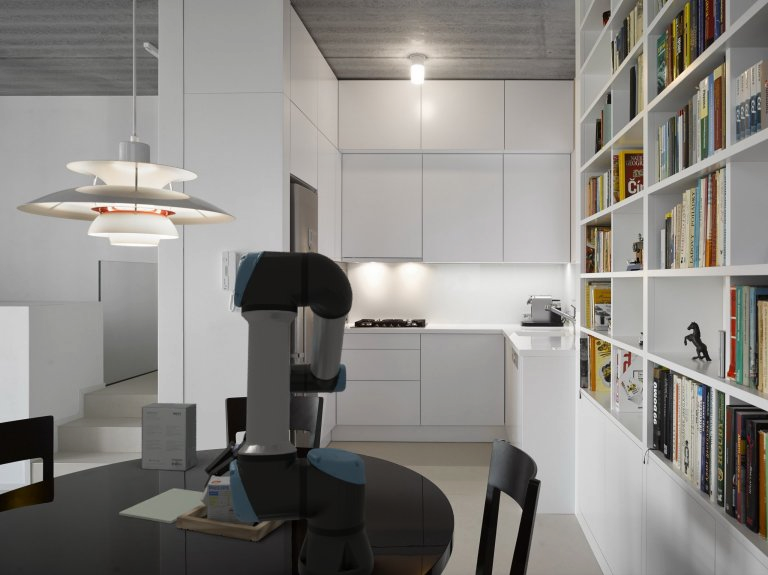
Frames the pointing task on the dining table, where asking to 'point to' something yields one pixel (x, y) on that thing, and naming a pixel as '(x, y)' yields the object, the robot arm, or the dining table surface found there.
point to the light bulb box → (221, 502)
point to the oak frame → (223, 525)
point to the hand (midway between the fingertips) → (227, 506)
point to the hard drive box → (169, 436)
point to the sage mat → (165, 506)
